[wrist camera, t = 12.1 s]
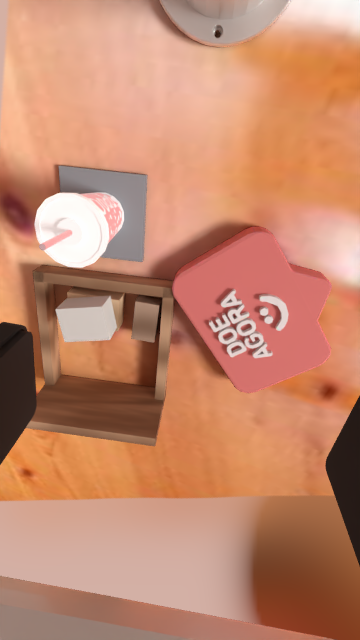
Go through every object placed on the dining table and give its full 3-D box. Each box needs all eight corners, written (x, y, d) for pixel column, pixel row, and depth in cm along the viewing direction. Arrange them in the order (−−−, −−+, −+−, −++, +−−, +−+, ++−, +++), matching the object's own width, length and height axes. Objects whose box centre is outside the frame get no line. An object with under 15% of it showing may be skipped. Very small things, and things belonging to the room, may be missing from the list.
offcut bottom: (76, 283, 40) (67, 292, 37) (125, 290, 40) (119, 300, 37) (77, 312, 42) (68, 323, 39) (124, 320, 42) (117, 331, 39)
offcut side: (139, 293, 40) (135, 301, 38) (162, 297, 40) (159, 305, 38) (135, 329, 42) (131, 338, 40) (157, 333, 42) (154, 342, 40)
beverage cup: (142, 224, 35) (104, 261, 23) (99, 253, 37) (41, 303, 25) (107, 171, 33) (43, 180, 21) (63, 205, 35) (-20, 232, 23)
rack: (42, 264, 39) (-2, 292, 31) (176, 281, 38) (166, 314, 30) (53, 380, 47) (20, 427, 39) (165, 395, 46) (155, 446, 38)
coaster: (61, 165, 34) (58, 165, 33) (147, 175, 34) (146, 175, 33) (66, 251, 38) (64, 252, 38) (143, 260, 38) (142, 262, 37)
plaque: (363, 351, 37) (242, 401, 41) (350, 334, 40) (240, 382, 45) (296, 207, 31) (163, 284, 35) (288, 202, 34) (168, 273, 39)
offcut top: (66, 298, 38) (55, 309, 35) (110, 295, 37) (102, 306, 34) (75, 329, 39) (64, 342, 37) (117, 327, 39) (109, 339, 36)
